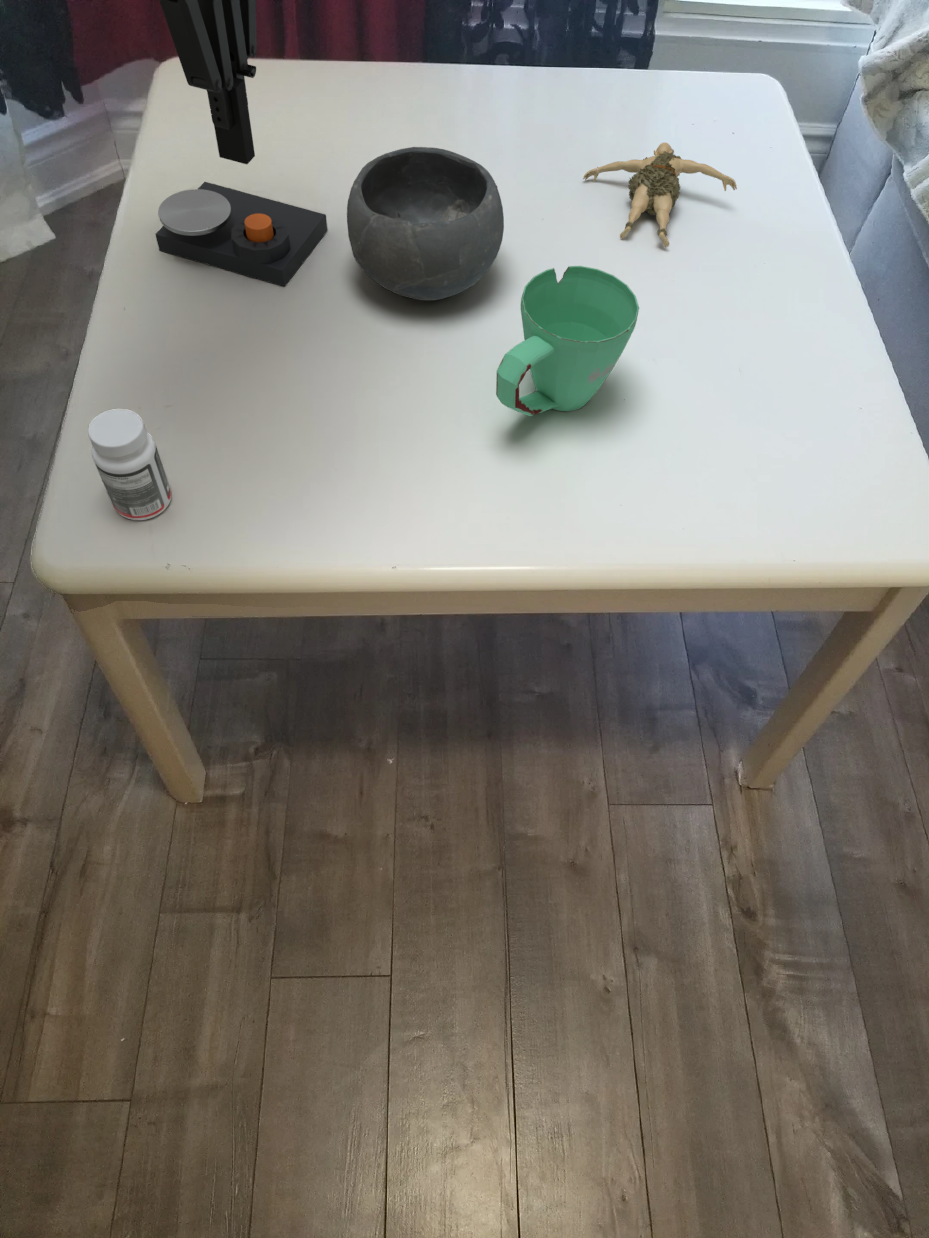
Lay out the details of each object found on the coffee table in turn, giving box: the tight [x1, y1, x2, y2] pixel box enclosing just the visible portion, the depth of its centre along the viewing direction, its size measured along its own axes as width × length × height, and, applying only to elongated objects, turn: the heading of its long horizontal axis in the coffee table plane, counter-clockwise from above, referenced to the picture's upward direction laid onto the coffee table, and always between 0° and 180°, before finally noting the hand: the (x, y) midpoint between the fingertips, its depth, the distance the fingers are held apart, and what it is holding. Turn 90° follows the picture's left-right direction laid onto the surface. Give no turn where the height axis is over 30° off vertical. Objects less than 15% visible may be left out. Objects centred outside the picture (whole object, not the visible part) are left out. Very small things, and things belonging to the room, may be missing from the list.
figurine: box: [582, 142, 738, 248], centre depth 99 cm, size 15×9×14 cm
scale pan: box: [157, 188, 232, 236], centre depth 90 cm, size 7×7×1 cm
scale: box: [154, 181, 328, 287], centre depth 92 cm, size 14×10×4 cm
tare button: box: [244, 214, 274, 242], centre depth 89 cm, size 3×3×2 cm
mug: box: [495, 265, 640, 417], centre depth 79 cm, size 15×10×10 cm
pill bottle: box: [87, 408, 172, 521], centre depth 71 cm, size 5×5×8 cm
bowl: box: [346, 146, 505, 301], centre depth 88 cm, size 15×15×10 cm
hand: (237, 156), depth 81 cm, fingers closed
